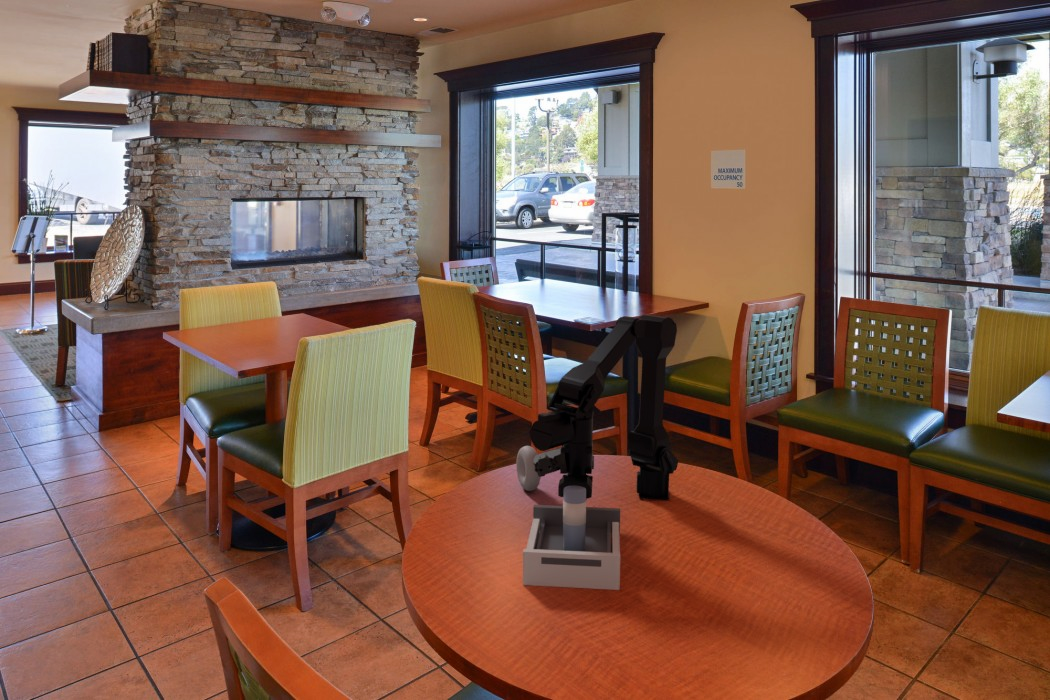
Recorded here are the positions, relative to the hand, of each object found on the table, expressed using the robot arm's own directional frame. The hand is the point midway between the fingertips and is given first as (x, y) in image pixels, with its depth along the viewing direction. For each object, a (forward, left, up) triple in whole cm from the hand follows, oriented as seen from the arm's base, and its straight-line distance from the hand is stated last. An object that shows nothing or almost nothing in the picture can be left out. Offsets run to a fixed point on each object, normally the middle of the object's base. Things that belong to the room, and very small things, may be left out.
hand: (576, 514), depth 156 cm
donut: (+11, -19, -3) cm, 22 cm away
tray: (0, +11, -3) cm, 12 cm away
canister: (0, +14, -1) cm, 14 cm away
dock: (0, +14, -3) cm, 14 cm away
